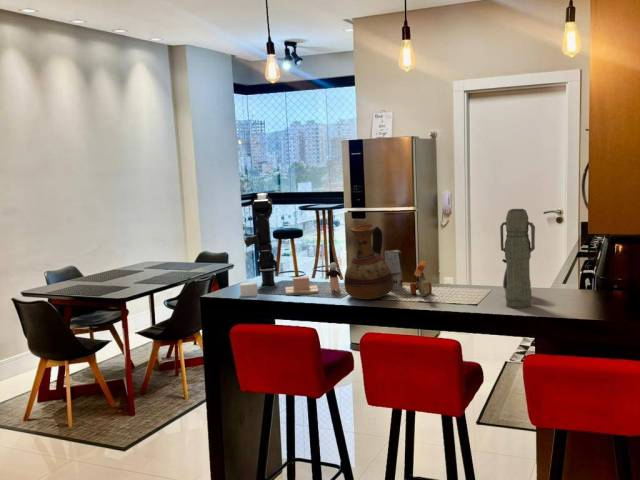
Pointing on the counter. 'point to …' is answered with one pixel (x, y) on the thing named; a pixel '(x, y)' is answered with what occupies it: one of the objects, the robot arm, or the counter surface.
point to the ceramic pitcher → (368, 266)
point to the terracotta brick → (301, 283)
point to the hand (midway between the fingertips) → (265, 264)
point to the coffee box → (395, 267)
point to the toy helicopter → (421, 281)
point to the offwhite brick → (248, 289)
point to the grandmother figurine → (334, 277)
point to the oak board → (298, 292)
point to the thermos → (518, 258)
